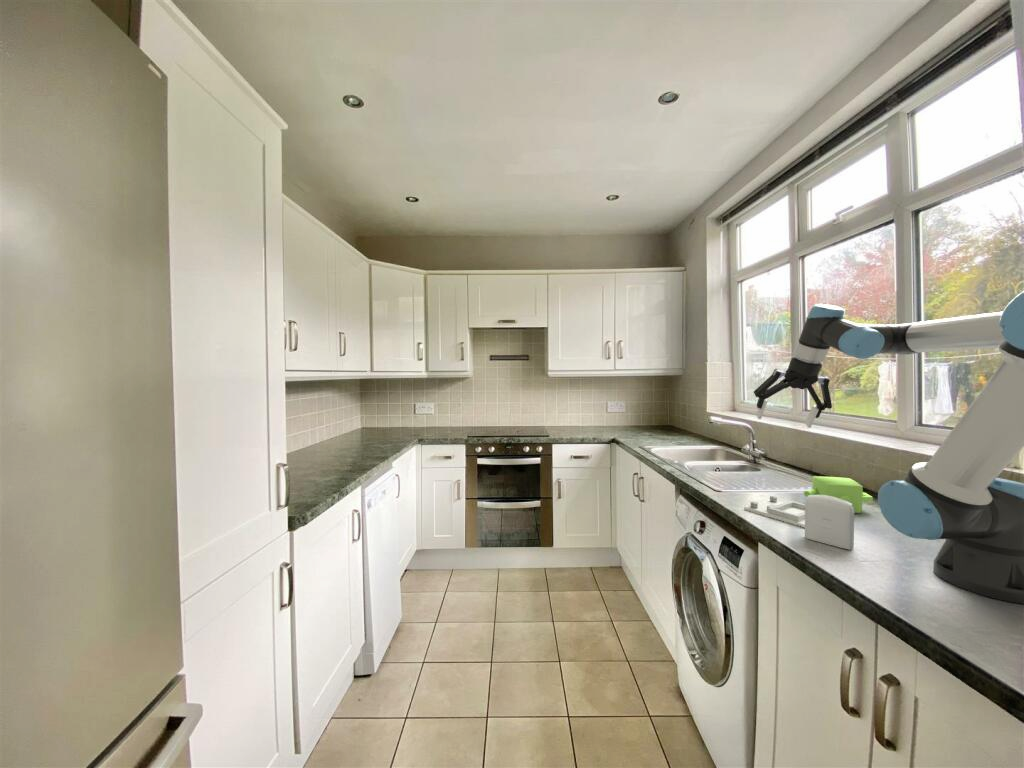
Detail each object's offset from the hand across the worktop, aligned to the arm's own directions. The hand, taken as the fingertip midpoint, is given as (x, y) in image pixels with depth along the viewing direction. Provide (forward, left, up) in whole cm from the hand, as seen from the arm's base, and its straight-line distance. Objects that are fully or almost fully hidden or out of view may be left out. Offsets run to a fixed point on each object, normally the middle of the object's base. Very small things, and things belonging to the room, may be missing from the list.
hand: (782, 421), depth 122 cm
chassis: (-3, -3, -30) cm, 30 cm away
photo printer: (-17, +11, -30) cm, 36 cm away
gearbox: (-6, -23, -30) cm, 38 cm away
